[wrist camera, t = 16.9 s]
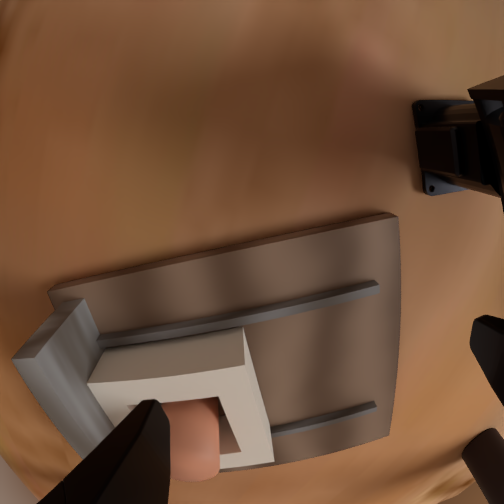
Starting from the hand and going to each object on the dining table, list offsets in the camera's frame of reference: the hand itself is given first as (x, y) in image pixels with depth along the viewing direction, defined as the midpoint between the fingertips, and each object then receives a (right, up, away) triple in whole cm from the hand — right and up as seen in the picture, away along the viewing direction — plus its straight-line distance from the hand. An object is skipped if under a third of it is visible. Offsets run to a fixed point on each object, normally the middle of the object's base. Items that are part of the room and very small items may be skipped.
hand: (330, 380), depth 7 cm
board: (-2, -7, +16) cm, 17 cm away
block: (-7, -7, +14) cm, 17 cm away
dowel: (-7, -7, +14) cm, 17 cm away
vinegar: (+32, -26, +24) cm, 48 cm away
